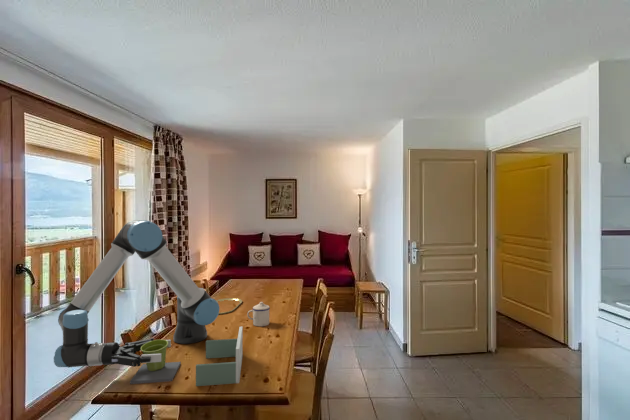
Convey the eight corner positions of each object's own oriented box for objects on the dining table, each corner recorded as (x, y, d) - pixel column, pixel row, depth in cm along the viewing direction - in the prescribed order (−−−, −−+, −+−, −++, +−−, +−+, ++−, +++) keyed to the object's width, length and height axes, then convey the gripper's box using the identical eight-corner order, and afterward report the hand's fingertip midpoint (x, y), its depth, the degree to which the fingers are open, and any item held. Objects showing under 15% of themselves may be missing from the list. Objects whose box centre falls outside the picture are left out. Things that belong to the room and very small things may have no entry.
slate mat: (129, 384, 123) (129, 381, 123) (142, 366, 137) (142, 364, 137) (172, 381, 125) (172, 378, 125) (180, 364, 139) (180, 361, 139)
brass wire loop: (245, 300, 240) (245, 298, 240) (229, 315, 205) (229, 313, 205) (218, 300, 241) (218, 297, 241) (198, 315, 206) (198, 312, 206)
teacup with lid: (270, 321, 193) (270, 300, 193) (268, 326, 184) (268, 304, 184) (249, 321, 194) (249, 300, 194) (245, 326, 185) (245, 304, 185)
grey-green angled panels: (195, 386, 122) (195, 351, 122) (206, 357, 146) (206, 328, 146) (239, 383, 124) (239, 348, 124) (242, 355, 148) (242, 326, 148)
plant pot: (160, 375, 128) (158, 352, 127) (137, 373, 130) (135, 350, 129) (174, 361, 137) (173, 340, 137) (152, 359, 139) (151, 338, 138)
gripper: (88, 357, 116) (156, 353, 120) (118, 331, 141) (174, 329, 144) (88, 380, 116) (156, 375, 120) (118, 350, 141) (173, 347, 144)
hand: (166, 350), depth 132 cm, fingers open, 13 cm apart
